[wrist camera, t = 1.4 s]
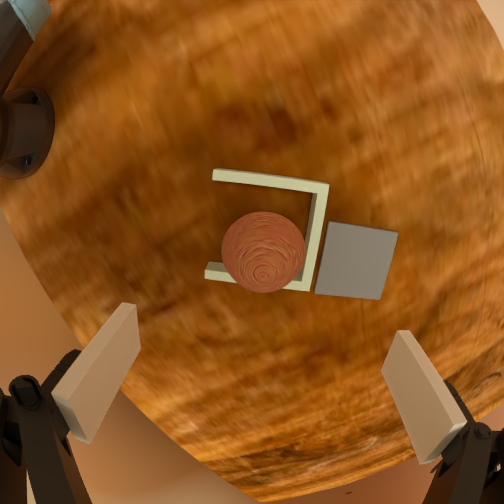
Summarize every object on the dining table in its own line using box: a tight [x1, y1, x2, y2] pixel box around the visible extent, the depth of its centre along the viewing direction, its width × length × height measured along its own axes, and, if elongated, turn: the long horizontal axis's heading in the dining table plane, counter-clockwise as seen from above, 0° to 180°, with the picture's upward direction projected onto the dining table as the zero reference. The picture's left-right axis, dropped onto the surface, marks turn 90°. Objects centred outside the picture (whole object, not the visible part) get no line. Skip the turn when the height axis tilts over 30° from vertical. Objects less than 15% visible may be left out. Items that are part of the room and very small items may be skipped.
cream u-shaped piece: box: [205, 168, 329, 291], centre depth 36 cm, size 13×13×3 cm
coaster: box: [314, 220, 398, 300], centre depth 38 cm, size 10×10×1 cm
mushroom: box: [221, 212, 306, 293], centre depth 30 cm, size 8×8×15 cm
